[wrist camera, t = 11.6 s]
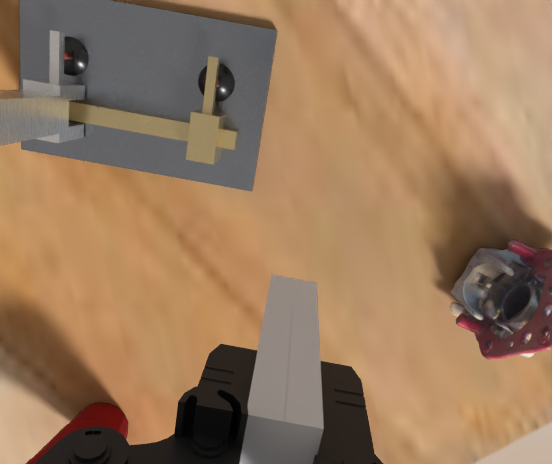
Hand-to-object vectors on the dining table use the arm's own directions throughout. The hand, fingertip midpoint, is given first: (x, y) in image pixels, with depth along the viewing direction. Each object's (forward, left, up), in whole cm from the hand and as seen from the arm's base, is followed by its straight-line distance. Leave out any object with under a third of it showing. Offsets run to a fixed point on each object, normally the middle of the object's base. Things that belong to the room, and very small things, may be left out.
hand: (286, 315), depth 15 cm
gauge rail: (-4, -15, -28) cm, 32 cm away
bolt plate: (-4, -15, -28) cm, 32 cm away
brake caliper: (+8, +22, -29) cm, 37 cm away
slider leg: (-4, -22, -27) cm, 35 cm away
